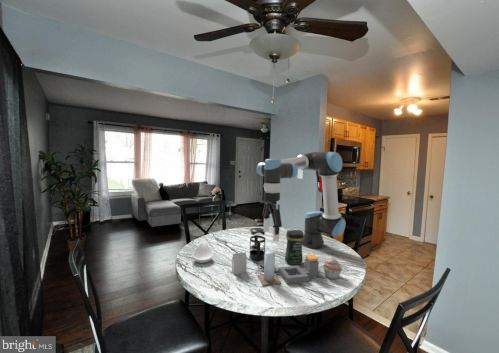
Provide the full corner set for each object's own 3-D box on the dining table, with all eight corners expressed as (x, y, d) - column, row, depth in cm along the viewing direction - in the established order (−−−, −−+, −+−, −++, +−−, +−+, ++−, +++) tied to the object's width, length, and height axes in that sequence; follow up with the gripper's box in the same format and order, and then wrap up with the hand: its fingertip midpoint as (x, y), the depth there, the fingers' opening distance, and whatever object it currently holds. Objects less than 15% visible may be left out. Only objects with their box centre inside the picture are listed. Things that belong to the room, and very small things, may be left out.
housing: (309, 269, 124) (310, 255, 123) (321, 280, 113) (322, 264, 112) (278, 273, 119) (278, 258, 119) (287, 284, 108) (287, 268, 108)
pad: (274, 274, 118) (274, 273, 117) (281, 283, 109) (281, 282, 109) (257, 276, 115) (257, 275, 115) (262, 286, 107) (263, 284, 107)
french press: (266, 261, 132) (268, 222, 131) (250, 262, 131) (251, 222, 129) (263, 253, 144) (264, 216, 142) (247, 253, 143) (248, 216, 141)
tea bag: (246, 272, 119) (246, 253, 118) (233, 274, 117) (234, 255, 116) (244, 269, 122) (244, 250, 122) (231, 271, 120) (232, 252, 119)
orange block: (313, 265, 120) (313, 254, 120) (317, 269, 116) (318, 258, 115) (304, 266, 119) (305, 255, 119) (309, 270, 115) (310, 259, 114)
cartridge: (272, 275, 115) (273, 250, 114) (275, 280, 110) (276, 254, 109) (262, 276, 114) (263, 251, 113) (265, 282, 109) (266, 255, 108)
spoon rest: (213, 265, 127) (213, 252, 126) (191, 266, 125) (191, 253, 124) (212, 248, 150) (212, 237, 149) (193, 249, 148) (193, 238, 147)
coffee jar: (288, 265, 128) (289, 232, 126) (283, 259, 136) (284, 228, 134) (304, 264, 130) (306, 232, 128) (298, 258, 137) (300, 227, 136)
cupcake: (324, 270, 124) (325, 252, 123) (342, 275, 119) (344, 256, 118) (320, 277, 116) (321, 258, 115) (339, 283, 111) (341, 263, 110)
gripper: (256, 188, 120) (256, 228, 122) (273, 196, 96) (272, 246, 98) (270, 188, 122) (269, 227, 124) (290, 196, 98) (288, 244, 99)
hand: (270, 235), depth 111 cm, fingers open, 13 cm apart
